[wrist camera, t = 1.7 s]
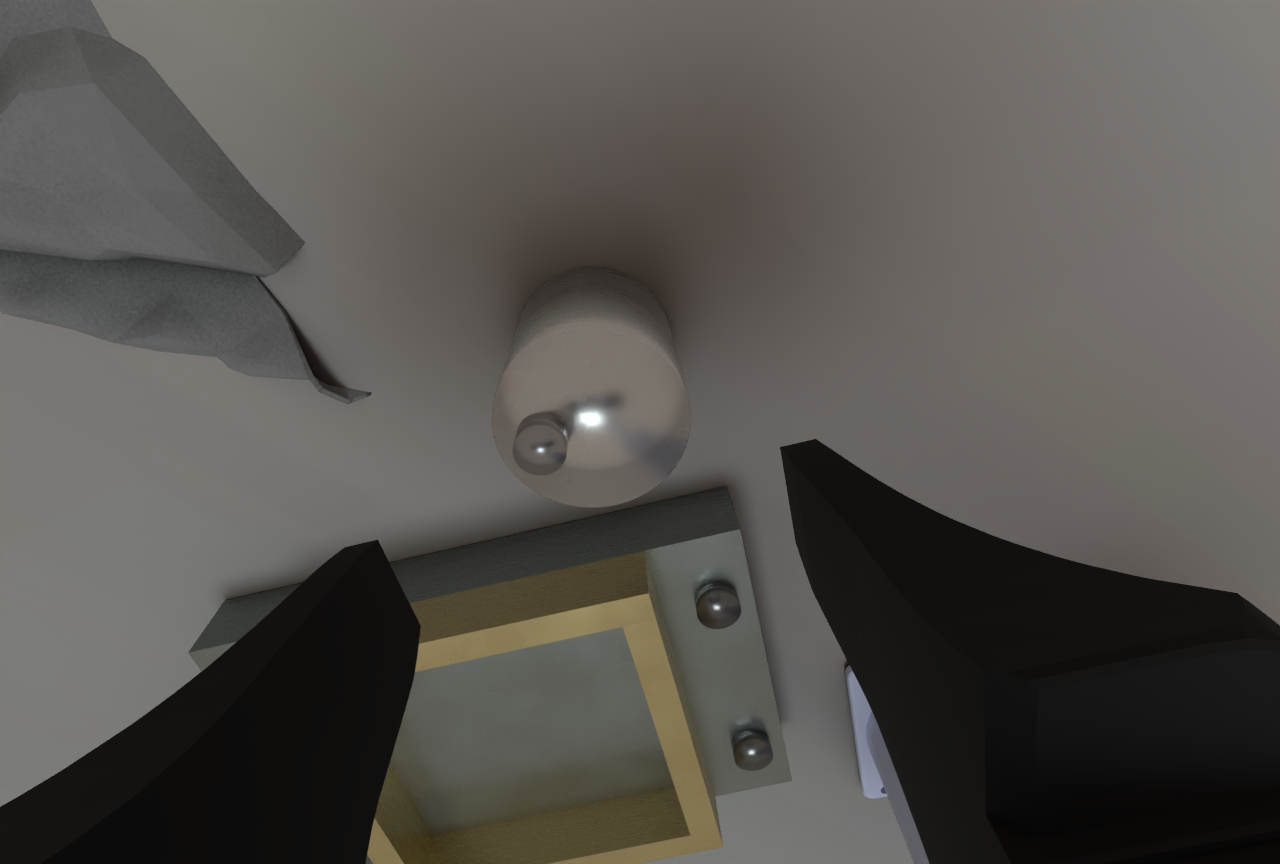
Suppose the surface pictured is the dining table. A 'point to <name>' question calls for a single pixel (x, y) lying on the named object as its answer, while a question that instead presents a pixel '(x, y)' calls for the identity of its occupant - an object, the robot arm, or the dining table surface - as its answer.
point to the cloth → (130, 205)
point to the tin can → (592, 392)
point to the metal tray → (572, 691)
